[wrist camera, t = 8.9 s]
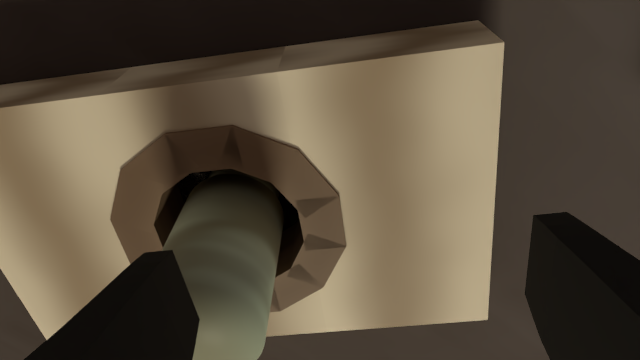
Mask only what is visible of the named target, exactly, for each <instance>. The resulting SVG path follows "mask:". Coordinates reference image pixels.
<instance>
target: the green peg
mask: <svg viewBox="0 0 640 360" xmlns="http://www.w3.org/2000/svg"><path fill="white" fill-rule="evenodd" d="M278 198H279V190H278V189H277V188H276V187H275V186H274V185H273V184H272V183H271V182H268V181H265V180H262V179H259V178H257V177H254V176H251V175H248V174H245V173H242V172H240V171H237V170H234V169H222V170H213V171H211V173H210V175H209V177H208V178H207V179H205V180H203V181H202V182H200V183H199V184H198V185H196V186H195V187H194V188H193V190H192V191H191V193H190V194H189V196H188V198H187V200H186V202H185V204H184V206H183V208H182V210H181V212H180V214H179V216H178V218H177V220H176V222H175V224H174V226H173V228H172V231H171V233H170V235H169V237H168V239H167V241H166V243H165V245H164V247H163V249H162V251H166V250H173V253H174V255H175V258H176V260H177V263H178V265H179V268H180V271H181V273H182V276H183V278H184V281H185V283H186V286H187V288H188V291H189V293H190V296H191V298H192V301H193V304H194V306H195V309H196V311H197V314H198V316H199V319H200V321H199V327H198V332H197V338H196V344H195V349H194V354H193V359H192V360H257V359H258V358H259V356H260V355H261V353H262V351H263V348H264V344H265V339H266V332H267V326H268V320H269V313H270V307H271V301H272V294H273V288H274V282H275V275H276V269H277V263H278V256H279V250H280V244H281V237H282V231H283V225H284V213H283V209H282V206H281V203H280V201H279V200H278Z"/></svg>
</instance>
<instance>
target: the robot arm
mask: <svg viewBox="0 0 640 360" xmlns="http://www.w3.org/2000/svg"><path fill="white" fill-rule="evenodd" d="M525 295H526V298H527V301H528V304H529V307H530V310H531V313H532V316H533V319H534V322H535V325H536V327H537V330H538V333H539V336H540V338H541V341H542V343H543V345H544V348H545V350H546V352H547V354H548V356H549V358H550V360H640V260H638V259H637V258H635V257H634V256H632V255H631V254H629V253H628V252H626V251H625V250H623V249H622V248H620V247H619V246H617V245H616V244H614V243H613V242H611V241H610V240H608V239H607V238H605V237H604V236H602V235H601V234H600V233H598V232H597V231H595V230H594V229H592V228H591V227H589V226H588V225H586V224H585V223H583V222H582V221H580V220H579V219H577V218H575V217H574V216H572V215H571V214H569V213H567V212H563V213H552V214H542V215H533V223H532V233H531V242H530V251H529V260H528V269H527V278H526V288H525ZM199 321H200V319H199V316H198V314H197V311H196V309H195V306H194V304H193V301H192V298H191V296H190V293H189V291H188V288H187V286H186V283H185V281H184V278H183V276H182V273H181V271H180V268H179V265H178V263H177V260H176V258H175V255H174V253H173V250H166V251H155V252H145V253H143V254H142V255H141V256H140V257H138V258H137V259H136V260H135V261H134V262H132V263H131V264H130V265H129V266H128V267H127V268H126V269H125V270H123V271H122V272H121V273H120V274H119V275H118V276H117V277H116V278H115V279H114V280H113V281H111V282H110V283H109V284H108V285H107V286H106V287H105V288H104V289H103V290H102V291H101V292H100V293H99V294H97V295H96V296H95V297H94V298H93V299H92V300H91V301H90V302H89V303H88V304H87V305H85V306H84V307H83V308H82V309H81V310H80V311H79V312H78V313H77V314H76V315H74V316H73V317H72V318H71V319H70V320H69V321H68V322H67V323H66V324H65V325H64V326H62V327H61V328H60V329H59V330H58V331H57V332H56V333H54V334H53V335H52V336H51V337H50V338H49V339H47V340H46V341H45V342H44V343H43V344H42V345H40V346H39V347H38V348H37V349H36V350H35V351H33V352H32V353H31V354H30V355H29V356H28V357H26V358H25V359H24V360H192V359H193V354H194V349H195V344H196V338H197V332H198V327H199Z"/></svg>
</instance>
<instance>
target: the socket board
mask: <svg viewBox="0 0 640 360" xmlns="http://www.w3.org/2000/svg"><path fill="white" fill-rule="evenodd" d="M503 56H504V42H503V41H502V40H501V39H500V38H499V37H497V36H496V35H495V34H494V33H493V32H492V31H490V30H489V29H488V28H487V27H486V26H485V25H483V24H482V23H481V22H480V21H479V20H476V21H468V22H461V23H454V24H446V25H439V26H432V27H424V28H417V29H409V30H402V31H395V32H387V33H380V34H372V35H365V36H358V37H350V38H343V39H335V40H328V41H321V42H313V43H306V44H299V45H291V46H284V47H276V48H269V49H262V50H254V51H247V52H239V53H232V54H225V55H217V56H210V57H203V58H195V59H188V60H180V61H173V62H166V63H158V64H151V65H143V66H136V67H129V68H121V69H114V70H107V71H99V72H92V73H84V74H77V75H70V76H62V77H55V78H47V79H40V80H33V81H25V82H18V83H11V84H3V85H0V269H1V270H2V272H3V273H4V275H5V276H6V278H7V279H8V281H9V282H10V284H11V286H12V287H13V289H14V290H15V292H16V293H17V295H18V296H19V298H20V299H21V301H22V303H23V304H24V306H25V307H26V309H27V310H28V312H29V313H30V315H31V316H32V318H33V320H34V321H35V323H36V324H37V326H38V327H39V329H40V330H41V332H42V334H43V335H44V337H45V338H46V340H47V339H49V338H50V337H51V336H52V335H53V334H54V333H56V332H57V331H58V330H59V329H60V328H61V327H62V326H64V325H65V324H66V323H67V322H68V321H69V320H70V319H71V318H72V317H73V316H74V315H76V314H77V313H78V312H79V311H80V310H81V309H82V308H83V307H84V306H85V305H87V304H88V303H89V302H90V301H91V300H92V299H93V298H94V297H95V296H96V295H97V294H99V293H100V292H101V291H102V290H103V289H104V288H105V287H106V286H107V285H108V284H109V283H110V282H111V281H113V280H114V279H115V278H116V277H117V276H118V275H119V274H120V273H121V272H122V271H123V270H125V269H126V268H127V267H128V266H129V265H130V264H131V263H132V262H134V261H135V260H136V259H137V258H138V257H140V256H141V255H142V254H143V253H145V252H155V251H162V249H163V247H164V245H165V243H166V241H167V239H168V237H169V235H170V233H171V231H172V228H173V226H174V224H175V222H176V220H177V218H178V216H179V214H180V212H181V210H182V208H183V206H184V201H183V198H182V195H181V192H180V189H179V187H178V184H177V183H178V182H179V181H180V180H182V179H183V178H184V177H186V176H187V175H188V174H190V173H195V172H204V171H213V170H222V169H234V170H237V171H240V172H242V173H245V174H248V175H251V176H254V177H257V178H259V179H262V180H265V181H268V182H271V183H272V184H273V185H274V186H275V187H276V188H277V189H278V190H279V191H280V192H281V193H282V194H283V195H284V196H285V198H286V199H287V200H288V201H289V202H290V203H291V204H292V205H293V206H294V207H295V208H296V209H297V210H298V214H299V218H298V220H297V222H296V223H295V224H294V225H292V226H291V227H289V228H287V229H286V230H284V231H283V232H282V237H281V244H280V250H279V256H278V263H277V269H276V275H275V282H274V288H273V294H272V301H271V307H270V313H269V320H268V326H267V332H266V336H279V335H293V334H306V333H319V332H333V331H346V330H359V329H372V328H386V327H399V326H412V325H426V324H439V323H452V322H465V321H479V320H488V304H489V287H490V271H491V254H492V238H493V221H494V205H495V188H496V172H497V155H498V139H499V122H500V106H501V89H502V73H503Z"/></svg>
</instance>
